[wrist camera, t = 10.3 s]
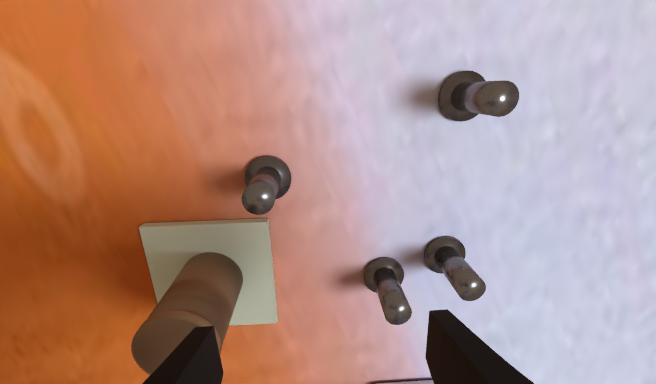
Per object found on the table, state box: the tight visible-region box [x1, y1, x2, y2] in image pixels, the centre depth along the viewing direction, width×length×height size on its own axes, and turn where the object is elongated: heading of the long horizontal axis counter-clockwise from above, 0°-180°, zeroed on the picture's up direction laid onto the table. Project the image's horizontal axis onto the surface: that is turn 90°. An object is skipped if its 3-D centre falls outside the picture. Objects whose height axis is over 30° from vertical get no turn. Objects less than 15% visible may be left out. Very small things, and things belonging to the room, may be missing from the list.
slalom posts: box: [242, 71, 519, 325], centre depth 18 cm, size 15×15×4 cm
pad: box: [139, 218, 278, 326], centre depth 21 cm, size 8×8×1 cm
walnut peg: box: [131, 252, 243, 375], centre depth 18 cm, size 4×4×6 cm
